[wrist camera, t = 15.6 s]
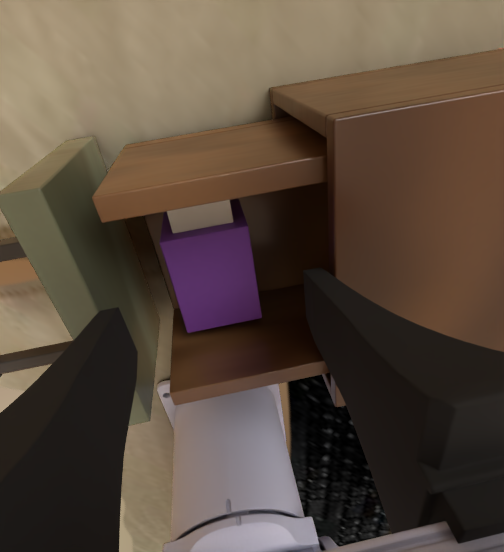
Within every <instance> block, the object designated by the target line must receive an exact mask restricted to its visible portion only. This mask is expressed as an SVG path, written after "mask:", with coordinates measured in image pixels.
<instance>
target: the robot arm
mask: <svg viewBox="0 0 504 552" xmlns="http://www.w3.org/2000/svg"><path fill="white" fill-rule="evenodd" d="M303 278H304V293H305V309H306V318H307V321H308V324H309V327H310V330H311V333H312V336H313V338H314V341H315V343H316V345H317V347H318V349H319V351H320V353H321V355H322V357H323V359H324V361H325V363H326V365H327V367H328V369H329V371H330V373H331V375H332V377H333V379H334V381H335V383H336V385H337V387H338V389H339V391H340V393H341V395H342V397H343V399H344V402H345V404H346V406H347V409H348V411H349V414H350V416H351V419H352V422H353V424H354V427H355V429H356V432H357V435H358V437H359V440H360V443H361V446H362V448H363V451H364V454H365V456H366V459H367V462H368V465H369V468H370V470H371V473H372V476H373V479H374V482H375V485H376V488H377V491H378V493H379V496H380V499H381V502H382V505H383V508H384V511H385V514H386V517H387V520H388V523H389V526H390V529H391V532H392V534H390V535H386V536H382V537H378V538H373V539H369V540H365V541H361V542H357V543H353V544H349V545H345V546H341V547H339V546H337V545H336V544H335V542H334V541H333V540H332V539H331V538H330V537H327V536H323V537H317V533H316V530H315V526H314V522H313V518H312V517H304V513H303V509H302V505H301V501H300V497H299V493H298V489H297V485H296V481H295V478H294V474H293V470H292V466H291V462H290V458H289V454H288V450H287V446H286V435H285V428H284V420H283V413H282V406H281V399H280V391H279V384H274V385H269V386H265V387H260V388H255V389H251V390H246V391H241V392H237V393H232V394H227V395H223V396H218V397H213V398H209V399H204V400H199V401H195V402H190V403H185V404H181V405H176V406H175V405H174V403H173V401H172V398H171V396H170V380H167V381H162V382H160V383H159V384H158V385H157V392H158V395H159V397H160V399H161V402H162V404H163V406H164V409H165V411H166V413H167V416H168V418H169V420H170V423H171V425H172V428H173V430H174V456H173V486H172V516H171V542H167V543H164V544H163V552H504V352H502V351H498V350H493V349H490V348H486V347H482V346H479V345H476V344H472V343H469V342H465V341H462V340H459V339H456V338H453V337H450V336H447V335H444V334H442V333H439V332H436V331H433V330H431V329H428V328H426V327H423V326H421V325H418V324H416V323H414V322H411V321H409V320H407V319H405V318H403V317H401V316H398V315H396V314H394V313H392V312H390V311H388V310H387V309H385V308H383V307H381V306H379V305H378V304H376V303H374V302H372V301H371V300H369V299H367V298H366V297H364V296H362V295H361V294H359V293H358V292H356V291H355V290H353V289H351V288H350V287H348V286H347V285H346V284H344V283H343V282H341V281H340V280H338V279H337V278H335V277H334V276H333V275H331V274H330V273H328V272H327V271H326V270H324V269H323V268H321V267H318V268H313V269H308V270H303ZM137 362H138V351H137V349H136V347H135V344H134V342H133V340H132V337H131V335H130V333H129V330H128V328H127V326H126V323H125V321H124V319H123V316H122V314H121V312H120V309H119V307H116V308H111V309H106V310H101V311H99V312H98V313H97V314H96V315H95V316H94V318H93V319H92V320H91V321H90V322H89V323H88V324H87V326H86V327H85V328H84V329H83V330H82V331H81V333H80V334H79V335H78V336H77V337H76V338H75V340H74V341H73V342H72V343H71V344H70V345H69V346H68V348H67V349H66V350H65V351H64V352H63V353H62V354H61V355H60V356H59V357H58V359H57V360H56V361H55V362H54V363H53V364H52V365H51V366H50V367H49V368H48V369H47V370H46V371H45V372H44V373H43V374H42V375H41V376H40V377H39V378H38V379H37V380H36V381H35V382H34V383H33V384H32V385H31V386H30V387H29V388H28V389H27V390H26V391H25V392H24V393H23V394H22V395H20V396H19V397H18V398H17V399H16V400H15V401H14V402H13V403H11V404H10V405H9V406H8V407H7V408H6V409H5V410H3V411H2V412H1V413H0V552H119V528H120V504H121V485H122V472H123V458H124V450H125V443H126V437H127V431H128V426H129V420H130V415H131V409H132V404H133V398H134V393H135V387H136V381H137Z"/></svg>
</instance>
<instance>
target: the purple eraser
mask: <svg viewBox="0 0 504 552" xmlns="http://www.w3.org/2000/svg"><path fill="white" fill-rule="evenodd" d="M160 247H161V250H162V253H163V256H164V259H165V263H166V266H167V269H168V272H169V275H170V279H171V282H172V285H173V288H174V292H175V295H176V298H177V301H178V304H179V308H180V311H181V314H182V317H183V320H184V324H185V327H186V330H187V332H188V333H191V332H195V331H200V330H205V329H210V328H215V327H220V326H225V325H230V324H235V323H240V322H245V321H250V320H254V319H259V318H262V313H261V307H260V300H259V293H258V287H257V280H256V274H255V267H254V260H253V254H252V247H251V241H250V234H249V227H248V224H247V221H246V218H245V215H244V212H243V210H242V207H241V204H240V201H239V199H234V200H225V201H220V202H214V203H209V204H204V205H198V206H193V207H187V208H182V209H176V210H171V211H167V212H164V215H163V222H162V229H161V236H160Z"/></svg>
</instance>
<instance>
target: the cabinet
mask: <svg viewBox="0 0 504 552" xmlns="http://www.w3.org/2000/svg"><path fill="white" fill-rule="evenodd" d="M270 101H271V111H272V120H273V119H279V118H285V117H290V116H293V117H295V118H296V119H298V120H299V121H301V122H302V123H304V124H305V125H307V126H308V127H310V128H312V129H313V130H315V131H316V132H318V133H319V134H321V135H322V136H324V137H325V138H327V178H328V238H329V273H330V274H331V275H333V276H334V277H335V278H337V279H338V280H340V281H341V282H343V283H344V284H346V285H347V286H348V287H350V288H351V289H353V290H355V291H356V292H358V293H359V294H361V295H362V296H364V297H366V298H367V299H369V300H371V301H372V302H374V303H376V304H378V305H379V306H381V307H383V308H385V309H387V310H388V311H390V312H392V313H394V314H396V315H398V316H401V317H403V318H405V319H407V320H409V321H411V322H414V323H416V324H418V325H421V326H423V327H426V328H428V329H431V330H433V331H436V332H439V333H442V334H444V335H447V336H450V337H453V338H456V339H459V340H462V341H465V342H469V343H472V344H476V345H479V346H482V347H486V348H490V349H493V350H498V351H502V352H504V49H498V50H492V51H486V52H480V53H474V54H468V55H462V56H456V57H450V58H444V59H438V60H432V61H426V62H420V63H414V64H408V65H402V66H396V67H390V68H384V69H378V70H372V71H366V72H360V73H354V74H348V75H343V76H337V77H331V78H325V79H319V80H313V81H307V82H301V83H295V84H289V85H283V86H277V87H271V88H270ZM322 376H323V378H324V381H325V383H326V385H327V388H328V390H329V393H330V395H331V398H332V400H333V402H334V405H335V406H336V407H339V406H344V405H346V404H345V402H344V399H343V397H342V395H341V393H340V391H339V389H338V387H337V385H336V383H335V381H334V379H333V377H332V375H331V373H326V374H322Z"/></svg>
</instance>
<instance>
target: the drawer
mask: <svg viewBox="0 0 504 552" xmlns="http://www.w3.org/2000/svg"><path fill="white" fill-rule="evenodd" d="M234 199H239V201H240V204H241V207H242V210H243V212H244V215H245V218H246V221H247V224H248V227H249V234H250V241H251V247H252V254H253V260H254V267H255V274H256V280H257V287H258V293H259V300H260V307H261V313H262V318H259V319H254V320H250V321H245V322H240V323H235V324H230V325H225V326H220V327H215V328H210V329H205V330H200V331H195V332H191V333H188V332H187V330H186V327H185V324H184V320H183V317H182V314H181V311H180V308H179V304H178V301H177V298H176V295H175V292H174V288H173V285H172V282H171V279H170V275H169V272H168V269H167V266H166V263H165V259H164V256H163V253H162V250H161V247H160V236H161V229H162V222H163V215H164V212H167V211H171V210H176V209H182V208H187V207H193V206H198V205H204V204H209V203H214V202H220V201H225V200H234ZM0 209H1V211H2V212H3V214H4V216H5V218H6V220H7V221H8V223H9V225H10V227H11V229H12V230H13V232H14V234H15V236H16V237H13V238H7V239H2V240H0V262H1V261H7V260H12V259H17V258H23V257H27V258H28V259H29V261H30V263H31V265H32V267H33V268H34V270H35V272H36V274H37V275H38V277H39V279H40V281H41V283H42V285H43V286H44V288H45V290H46V292H47V294H48V295H49V297H50V299H51V301H52V303H53V304H54V306H55V308H56V310H57V312H58V313H59V315H60V317H61V319H62V321H63V322H64V324H65V326H66V328H67V330H68V331H69V333H70V335H71V337H72V339H73V341H74V340H75V338H76V337H77V336H78V335H79V334H80V333H81V331H82V330H83V329H84V328H85V327H86V326H87V324H88V323H89V322H90V321H91V320H92V319H93V318H94V316H95V315H96V314H97V313H98V312H99V311H101V310H106V309H111V308H116V307H119V309H120V312H121V314H122V316H123V319H124V321H125V323H126V326H127V328H128V330H129V333H130V335H131V337H132V340H133V342H134V344H135V347H136V349H137V351H138V362H137V381H136V387H135V393H134V398H133V404H132V409H131V415H130V420H129V426H131V425H135V424H140V423H144V422H149V421H150V418H151V407H152V397H153V387H154V377H155V367H156V357H157V347H158V337H159V326H160V318H159V315H158V313H157V310H156V307H155V304H154V301H153V299H152V296H151V293H150V290H149V288H148V285H147V282H146V279H145V276H144V274H143V271H142V268H141V265H140V262H139V260H138V257H137V254H136V251H135V248H134V246H133V243H132V240H131V237H130V234H129V232H128V229H127V226H126V223H125V220H124V219H127V218H133V217H138V216H144V218H145V221H146V224H147V228H148V231H149V234H150V237H151V240H152V243H153V246H154V249H155V252H156V255H157V258H158V262H159V265H160V268H161V271H162V274H163V277H164V280H165V283H166V286H167V289H168V293H169V296H170V299H171V302H172V305H173V308H174V316H173V335H172V355H171V375H170V396H171V398H172V401H173V403H174V405H175V406H176V405H181V404H185V403H190V402H195V401H199V400H204V399H209V398H213V397H218V396H223V395H227V394H232V393H237V392H241V391H246V390H251V389H255V388H260V387H265V386H269V385H274V384H279V383H283V382H288V381H293V380H297V379H302V378H307V377H312V376H316V375H321V374H326V373H330V371H329V369H328V367H327V365H326V363H325V361H324V359H323V357H322V355H321V353H320V351H319V349H318V347H317V345H316V343H315V341H314V338H313V336H312V333H311V330H310V327H309V324H308V321H307V318H306V309H305V293H304V278H303V270H308V269H313V268H318V267H321V268H323V269H324V270H326V271H327V272H328V273H329V238H328V178H327V138H325V137H324V136H322V135H321V134H319V133H318V132H316V131H315V130H313V129H312V128H310V127H308V126H307V125H305V124H304V123H302V122H301V121H299V120H298V119H296V118H295V117H293V116H290V117H285V118H279V119H273V120H267V121H261V122H256V123H250V124H244V125H238V126H232V127H227V128H221V129H215V130H209V131H203V132H198V133H192V134H186V135H180V136H174V137H169V138H163V139H157V140H151V141H145V142H140V143H134V144H128V145H125V147H124V148H123V150H122V151H121V152H120V154H119V156H118V157H117V159H116V160H115V162H114V163H113V165H112V167H111V168H110V170H109V171H108V173H107V170H106V167H105V165H104V162H103V159H102V156H101V153H100V151H99V148H98V145H97V142H96V139H95V137H94V136H91V137H85V138H80V139H74V140H68V141H65V142H64V143H63V144H61V145H60V146H59V147H57V148H56V149H55V150H54V151H52V152H51V153H50V154H48V155H47V156H46V157H45V158H43V159H42V160H41V161H39V162H38V163H37V164H35V165H34V166H33V167H32V168H30V169H29V170H28V171H26V172H25V173H24V174H22V175H21V176H20V177H19V178H17V179H16V180H15V181H13V182H12V183H11V184H9V185H8V186H7V187H6V188H4V189H3V190H2V191H0ZM73 341H69V342H64V343H59V344H54V345H49V346H44V347H39V348H34V349H29V350H24V351H19V352H14V353H9V354H4V355H0V377H1V376H2V374H4V373H9V372H14V371H19V370H24V369H29V368H34V367H38V366H43V365H48V364H53V363H54V362H55V361H56V360H57V359H58V357H59V356H60V355H61V354H62V353H63V352H64V351H65V350H66V349H67V348H68V346H69V345H70V344H71V343H72V342H73Z"/></svg>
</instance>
